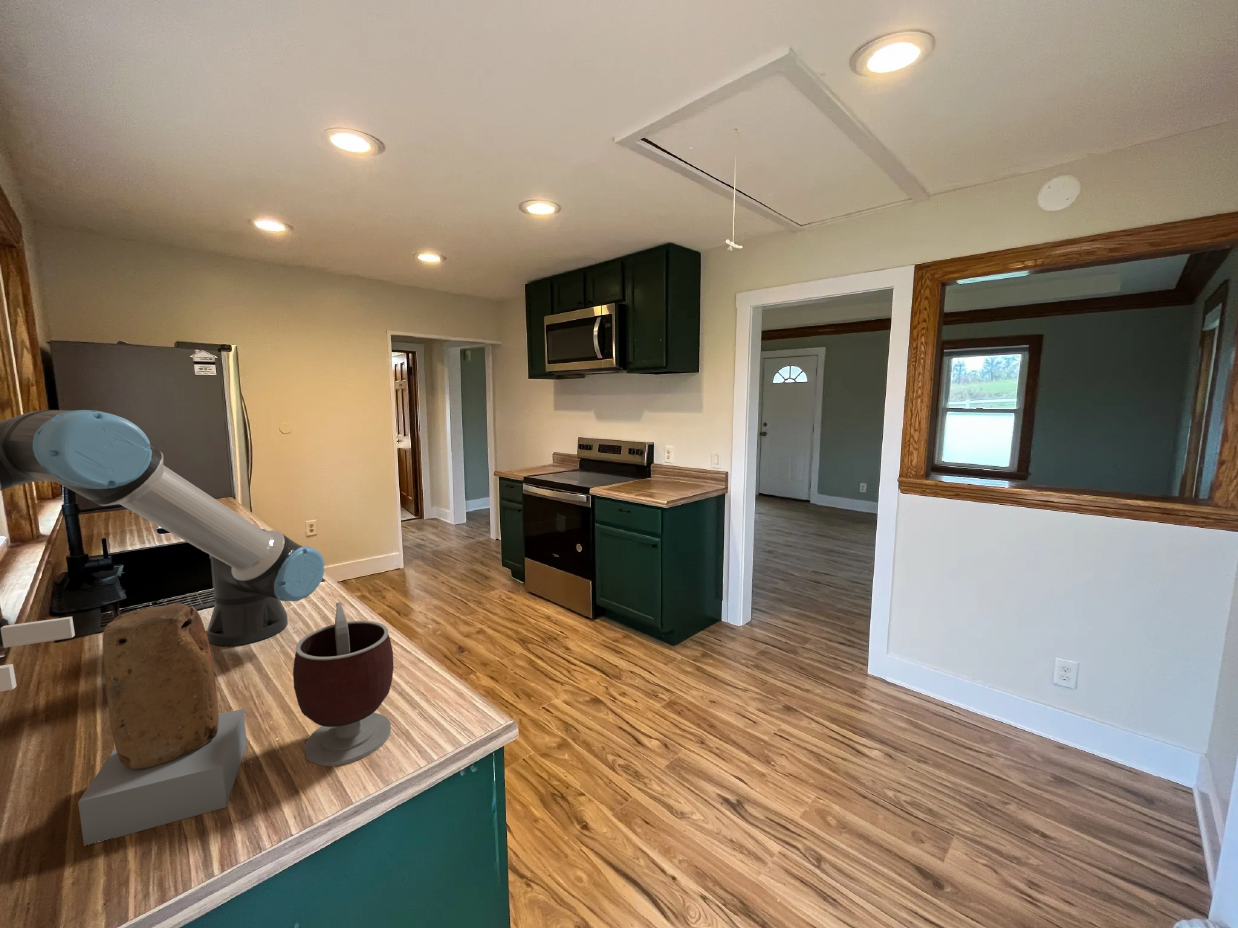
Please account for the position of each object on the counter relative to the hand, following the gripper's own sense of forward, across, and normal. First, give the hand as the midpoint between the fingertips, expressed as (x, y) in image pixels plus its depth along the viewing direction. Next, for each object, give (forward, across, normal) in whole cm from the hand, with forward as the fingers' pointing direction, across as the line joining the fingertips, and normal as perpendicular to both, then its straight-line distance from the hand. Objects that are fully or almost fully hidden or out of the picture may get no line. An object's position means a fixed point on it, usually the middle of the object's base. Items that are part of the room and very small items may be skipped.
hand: (45, 649), depth 64 cm
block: (+11, 0, -17) cm, 20 cm away
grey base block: (+11, 0, -23) cm, 25 cm away
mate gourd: (+32, -2, -24) cm, 40 cm away
